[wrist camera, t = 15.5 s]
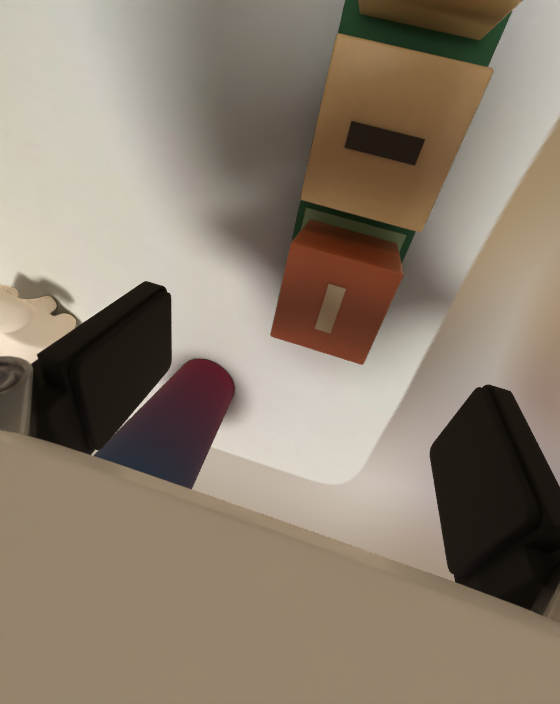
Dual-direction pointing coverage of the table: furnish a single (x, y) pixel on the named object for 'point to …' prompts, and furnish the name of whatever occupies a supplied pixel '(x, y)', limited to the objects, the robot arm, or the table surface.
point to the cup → (175, 425)
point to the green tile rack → (397, 111)
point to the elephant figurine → (29, 324)
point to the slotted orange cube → (336, 290)
